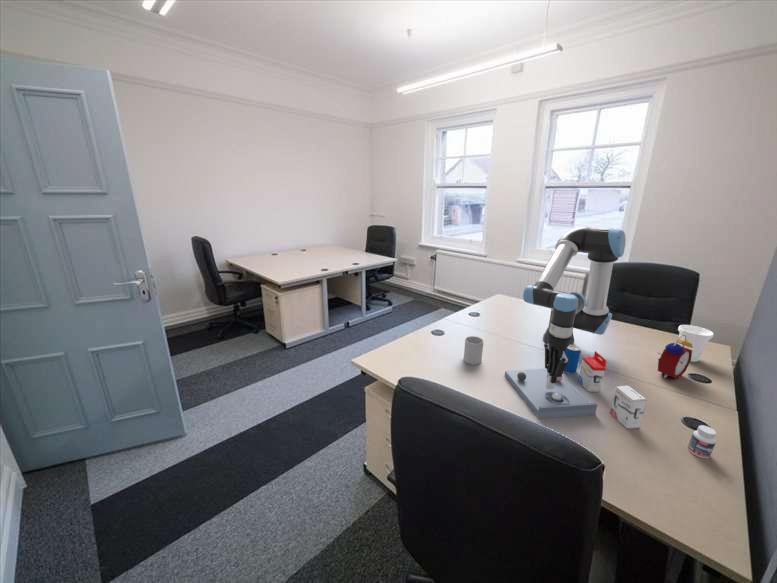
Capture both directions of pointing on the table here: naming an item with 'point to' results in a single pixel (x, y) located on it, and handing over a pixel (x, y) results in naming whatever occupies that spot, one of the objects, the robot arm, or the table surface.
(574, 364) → the beverage can
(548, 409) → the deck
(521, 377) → the rubber ball
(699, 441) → the pill bottle
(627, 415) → the ink box
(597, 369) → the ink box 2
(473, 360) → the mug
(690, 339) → the cup
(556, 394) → the steel ball
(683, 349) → the alarm clock
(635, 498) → the table surface
